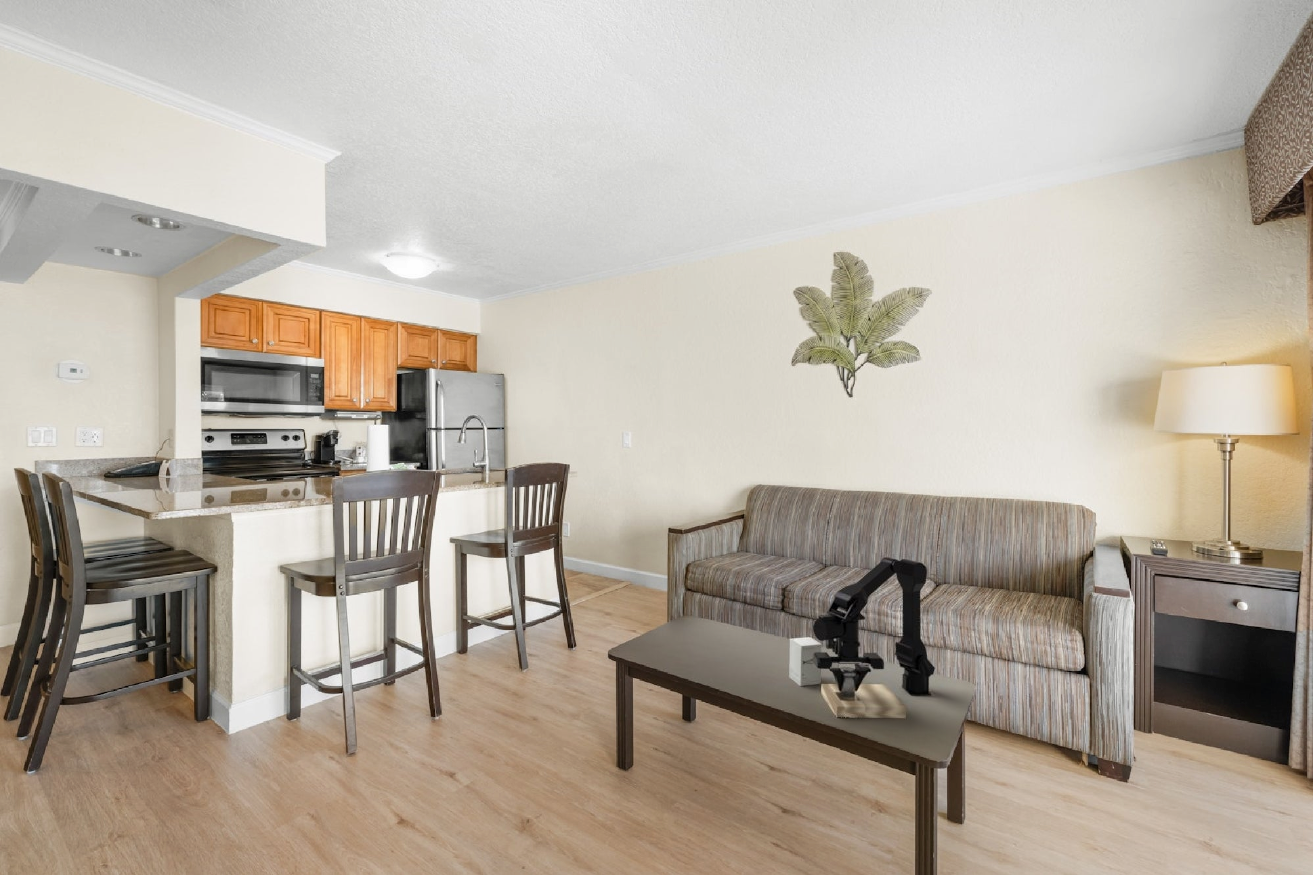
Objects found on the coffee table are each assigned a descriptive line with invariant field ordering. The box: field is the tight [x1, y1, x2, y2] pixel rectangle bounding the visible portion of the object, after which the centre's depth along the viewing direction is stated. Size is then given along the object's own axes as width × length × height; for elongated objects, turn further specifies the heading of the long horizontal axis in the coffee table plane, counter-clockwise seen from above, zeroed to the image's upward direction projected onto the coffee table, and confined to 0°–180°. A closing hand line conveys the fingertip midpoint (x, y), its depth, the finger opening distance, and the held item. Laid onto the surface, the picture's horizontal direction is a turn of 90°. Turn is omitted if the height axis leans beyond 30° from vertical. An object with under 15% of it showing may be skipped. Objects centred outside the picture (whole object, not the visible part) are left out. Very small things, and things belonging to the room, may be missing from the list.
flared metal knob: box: [839, 666, 858, 698], centre depth 169 cm, size 5×5×7 cm
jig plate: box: [820, 683, 907, 719], centre depth 170 cm, size 19×15×3 cm
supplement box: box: [788, 636, 822, 687], centre depth 187 cm, size 7×7×13 cm
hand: (847, 690), depth 169 cm, fingers closed on flared metal knob, 4 cm apart
